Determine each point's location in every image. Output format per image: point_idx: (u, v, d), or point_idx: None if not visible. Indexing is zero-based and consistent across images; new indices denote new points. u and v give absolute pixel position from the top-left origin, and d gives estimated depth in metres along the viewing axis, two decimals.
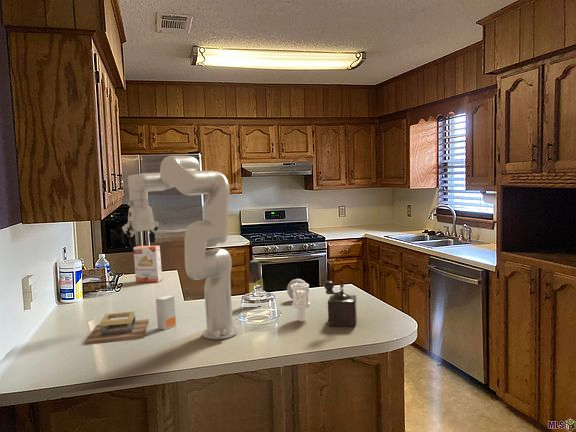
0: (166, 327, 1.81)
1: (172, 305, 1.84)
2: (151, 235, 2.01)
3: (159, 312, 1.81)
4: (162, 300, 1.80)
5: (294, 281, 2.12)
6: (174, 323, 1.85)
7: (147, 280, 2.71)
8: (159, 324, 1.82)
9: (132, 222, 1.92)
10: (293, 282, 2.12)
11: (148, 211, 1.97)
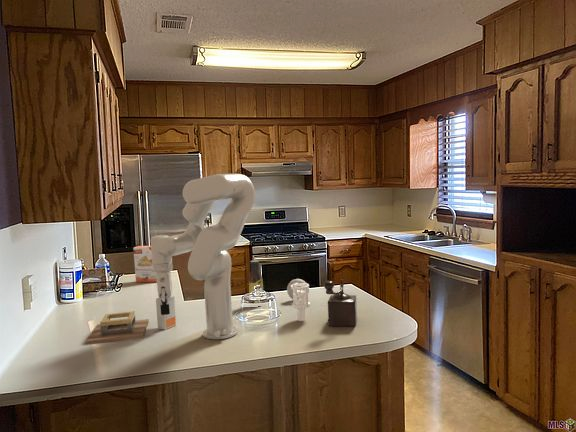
0: (166, 327, 1.81)
1: (172, 305, 1.84)
2: None
3: (159, 312, 1.81)
4: None
5: (294, 281, 2.12)
6: (174, 323, 1.85)
7: (147, 280, 2.71)
8: (159, 324, 1.82)
9: (167, 287, 1.78)
10: (293, 282, 2.12)
11: (170, 273, 1.85)
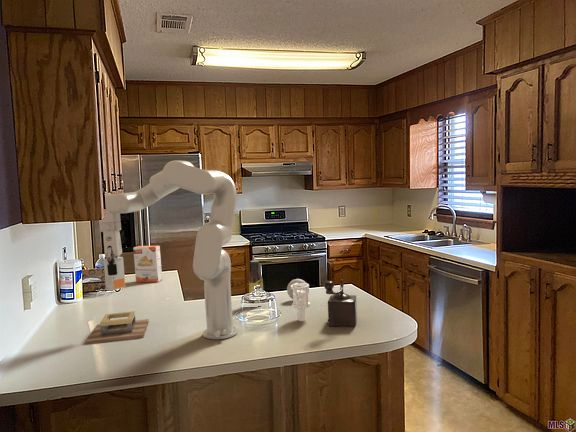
0: (114, 288, 1.77)
1: (121, 266, 1.79)
2: None
3: (107, 273, 1.77)
4: None
5: (294, 281, 2.12)
6: (123, 285, 1.80)
7: (147, 280, 2.71)
8: (107, 285, 1.77)
9: (114, 247, 1.74)
10: (293, 282, 2.12)
11: (119, 234, 1.81)
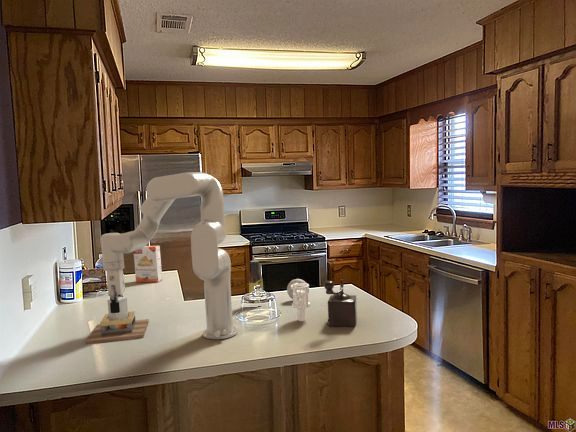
0: None
1: (125, 306, 1.81)
2: None
3: (110, 314, 1.78)
4: None
5: (294, 281, 2.12)
6: None
7: (147, 280, 2.71)
8: (111, 326, 1.79)
9: (117, 286, 1.75)
10: (293, 282, 2.12)
11: (122, 272, 1.82)
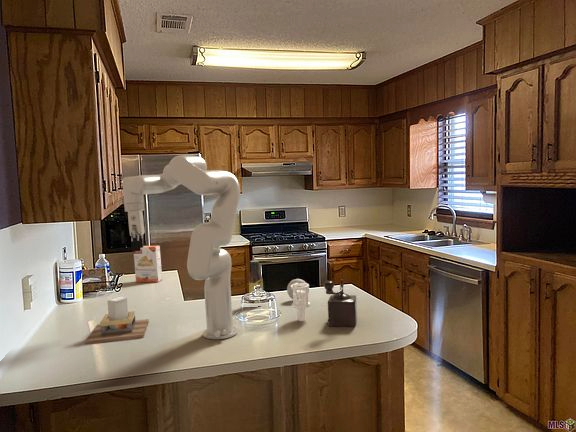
0: None
1: (125, 306, 1.81)
2: (139, 240, 1.94)
3: (110, 314, 1.78)
4: (113, 302, 1.77)
5: (294, 281, 2.12)
6: None
7: (147, 280, 2.71)
8: (111, 326, 1.79)
9: (138, 226, 1.84)
10: (293, 282, 2.12)
11: (142, 214, 1.91)
